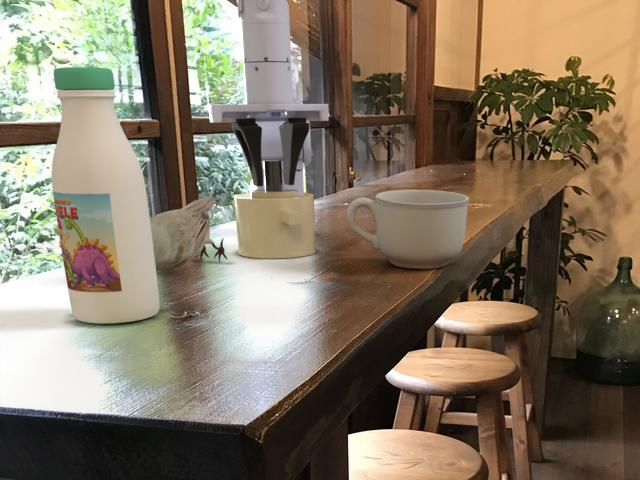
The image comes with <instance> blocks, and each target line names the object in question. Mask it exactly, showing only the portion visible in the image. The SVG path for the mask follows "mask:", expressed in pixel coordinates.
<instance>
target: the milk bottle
mask: <svg viewBox="0 0 640 480" xmlns="http://www.w3.org/2000/svg"><path fill="white" fill-rule="evenodd" d="M53 80H54V81H53V82H54V85H55V89H56V98H58V99H59V101H60V105H61V119H60V120H61V121H60V126H59V127H60V128H59V133H58V137H57V140H56V146H55V149H54V153H53V157H52V162H51V164H52V165H51V186H52V196H53V203H54V204H53V205H54V210H55V217H56V224H57V230H58V236H59V243H60V249H61V250H60V251H61V254H62V261H63V268H64V273H65V280H66V286H67V291H68V298H69V303H70V309H71V313H72V315H73V317H74V318H75V319H76V320H78V321H79V322H83V323H87V324H120V323H121V324H122V323H130V322H137V321H141V320H145V319H148V318H151V317H154V316H155V315H157V314H158V313H159V312H160V308H161V304H160V292H159V285H158V276H157V275H158V274H157V271H156V266H155V258H154V249H153V241H152V233H151V225H150V218H151V217H150V210H149V201H148V195H147V189H146V184H145V179H144V174H143V170H142V167H141V163H140V161H139V159H138V156H137V154H136V152H135V151H134V149H133V147H132V145H131V143H130V141H129V140H128V138H127V135H126V134H125V132H124V130H123V127H122V125H121V123H120V120H119V118H118V115H117V112H116V108H115V98H117V96H116V93H115V88H116V87H115V86H116V85H115V78H114V73H113V70H112V69H111V68H106V67H97V66H96V67H95V66H94V67H91V66H84V67H83V66H71V67H70V66H69V67H67V66H66V67H57V68H55V69H54V70H53Z"/></svg>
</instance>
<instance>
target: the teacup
mask: <svg viewBox="0 0 640 480" xmlns="http://www.w3.org/2000/svg"><path fill="white" fill-rule="evenodd" d="M469 201H470V197H469V196H468V195H465V194H463V193H458V192H453V191H447V190H437V189H436V190H435V189H394V190H387V191H381V192H378V193H377V194H376V195H375V201H374V200H372V199H370V198H368V197H358V198H356V199H353V200H352V201H351V202H350V204H349V205H348V207H347V209H346V221H347V225H348V226H349V228H350V229H351V230H352V232H353V233H355V235H357V236H358V237H359V238H361V239H363V240H364V241H366V242H367V243H369V244H370V246H371V248H372V249H373V250H375V251H379V252H380V253H381V254H382V255H383V256H384V257H385V258H386V259H387V260H388V262H389V263H390V264H392V265H393V266H394V267H395V266H396V267H399V268H402V269H408V270H409V269H410V270H433V269H440V268H443V267H446V266H448V264H450V262H451V261H452V260H454V259H455V258H456V257H457V256H458V255H459V254H460V253H461V251H462V250H463V247H464V244H465V238H466V231H467V230H466V229H467V219H468V204H469ZM361 207H364V208H367V209H368V210H369V211H370V214H371V217H372V220H373V221H374V222H375V234H374V233H372V232H369V231H367V230H365V229H363V227H361V226H360V225H359V224H358V222H357V220H356V213H357V211H358V209H359V208H361Z"/></svg>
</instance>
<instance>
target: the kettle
mask: <svg viewBox="0 0 640 480" xmlns="http://www.w3.org/2000/svg"><path fill="white" fill-rule="evenodd" d="M264 176H265V189H255V190H251V191H250V190H249V192H247V193H239V194H236V195H234V208H235V223H236V234H237V235H236V237H237V238H236V239H237V249H238V250H237V251H238V255H240V256H242V257H245V258H250V259H251V258H252V259H267V260H269V259H271V260H272V259H276V260H277V259H293V258H301V257H306V256H310V255H313V254H315V253H316V252H317V249H316V248H317V247H316V221H315V220H316V219H315V218H316V217H315V194H313V193H310V192H298V190H297V189H289V188H283V184H282V164H281V160H264Z"/></svg>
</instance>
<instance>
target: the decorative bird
mask: <svg viewBox="0 0 640 480" xmlns="http://www.w3.org/2000/svg"><path fill="white" fill-rule="evenodd" d="M216 204H217V200H215V199H214V198H213V197H212V196H206V197H202V198H199V199H195V200H193V201H191V202H190V203H188V204H186V205H185V206H183V207H181V208H179V209H178V208H177V209H173V210H167V211H163V212H161V213H158V214H156V215H154V216H152V217H150V225H151V233H152V241H153V249H154V258H155V266H156V272H166V271H167V272H168V271H171V270H174V269H177V268H179V267H181V266H183V265H185V264H187V263H189V262H190V261H191V260H193V259H194V258H197V257H198V256H199V257H200V258H199V259H200V261H201V262H202V261H203V255H205V257H207V258H208V259H210V256H209V254H208V253H207V246H206V245H211V246H212V248H214V249H215V250H217V251H216V253H215V254H214V256H213V260H215V259H216V257H217V256H218V262H219V263H221V257H224V259H226V260H227V261H228V257H227V256H226V254H225V247H224V239H225V238H224V237H222V239H221V241H220V244H219V247H218V246H216V244H215V243H214V241H213V239H211V238H210V234H211V228H210V215H209V212H210V210H212V209H213V208H214V207H215V205H216Z"/></svg>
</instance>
